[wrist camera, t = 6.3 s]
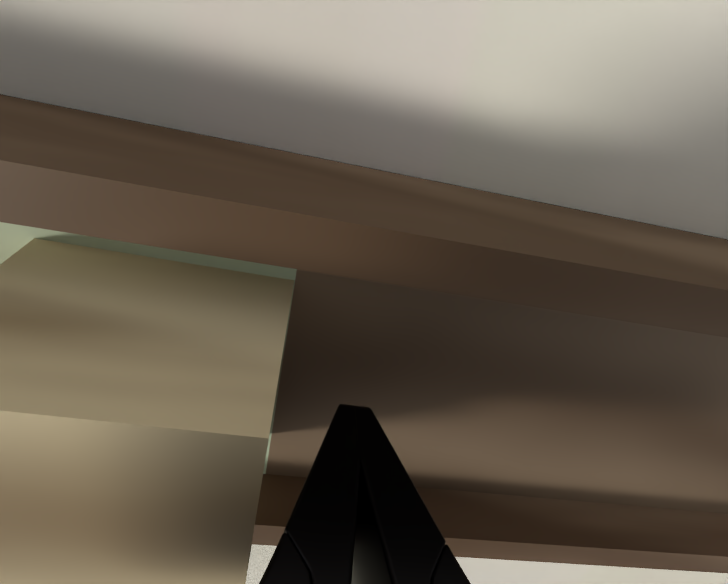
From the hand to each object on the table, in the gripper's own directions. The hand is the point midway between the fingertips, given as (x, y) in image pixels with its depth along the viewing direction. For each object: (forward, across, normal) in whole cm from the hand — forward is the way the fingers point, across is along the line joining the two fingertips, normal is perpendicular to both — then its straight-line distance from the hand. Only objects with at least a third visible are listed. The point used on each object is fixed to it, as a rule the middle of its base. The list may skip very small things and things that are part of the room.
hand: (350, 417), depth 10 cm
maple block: (+1, +4, 0) cm, 4 cm away
